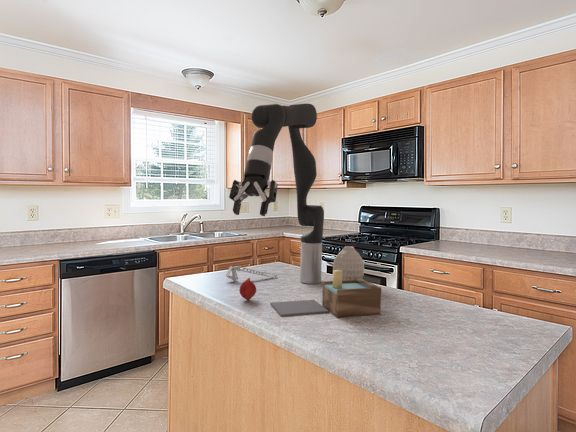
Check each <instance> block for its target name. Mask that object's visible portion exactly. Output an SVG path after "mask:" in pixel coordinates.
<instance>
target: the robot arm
mask: <svg viewBox="0 0 576 432" xmlns="http://www.w3.org/2000/svg"><path fill="white" fill-rule="evenodd" d="M317 115H318V114H317V109H316V107H315V105H313V104H311V103H296V104H290V105H281V104H278V103H273V104H261V105H257V106H255V107H254V108H253V110H251V115H250V116H251V117H250V118H251V122H252V125H254V126H255V127H256V128H259V129H258V130H256V131H254V133H253V136H252V138H251V144H250V149H249V151H248V154H247V158H246V163H245V167H244V172H243V178H242V179H243V180H242V181H238V180H236V179H235V180H233V182H232V185H231V189H230V192H229V196H228V198H229V199H230V200H232V201H233V202H234V203H233V207H232V212H233V214H234V215H236V216H239V215H240V211H241V208H242V202H243V201H244V200H245V199H247V198H249V197H261V199H262V201H261V203H260V209H259V215H260V216H262V217H265V216H266V215H268V210H269V205H270V203H276V201H277V193H278V187H279V185H278V183H277V182H276V181H275V179H274V180H273V179H272V180H270V174H271V169H272V164H273V155H274V149H275V145H276V140H277V138H278V136H279V134H280V132H281V130H282V129H283V128H286V127H288V133H289V138H290V143H291V153H292V164H293V171H294V172H293V174H294V181H295V189H296V208H297V209H296V210H297V212H296V213H297V221H298V224H299V225H300V226H302V227H313V229H312V231H310V232H307V233H305V234H302V235H301V236H300V265H299V266H300V268H299V271H300V272H299V282H300V283H303V284H311V285H313V284H314V285H315V284H320V283H322V268H323V267H322V264H323V263H322V262H323V261H322V260H323V238H324V237H323V235H324V223H325V222H324V221H325V211H324V207H323V206H322V205H313V204H308V202H307V199H308V194H309V192H310V190H311V188H312V186H313V185H314V182H316V179H317V161H316V158H315V156H314V155H313V153H312V151H311V150H310V149H309V148H308V146H307V145H306V143H305V141H304V140H303V138H302V135H301V132H300V131H301V130H300V129H309V128H313V127H314V126H315V125H316V123H317V119H318V116H317ZM269 180H270V181H269ZM268 188H269V194H267V193H266V189H268Z"/></svg>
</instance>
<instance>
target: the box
mask: <svg viewBox="0 0 576 432" xmlns="http://www.w3.org/2000/svg"><path fill="white" fill-rule="evenodd" d="M343 283H362V284H364V285H366V286H368V287H370V288H357V289H341V290H337V294H335V293H333V292H332V291H330V290H329V289H327V288H325V287H324V285H325V284H333V280H326V281H325V280H324V281H322V298H321V299H322V300H321V301H322V304H321V305H322V306H323V307H324V308H326V309H327V310H328V311H329V313H330V314H332V315H333V316H334V317H335V318H337V319H341V318H353V317H364V316H376V315H381V307H382V306H381V305H382V302H381V301H382V287H381V286H379V285H376V284H374V283H372V282H370V281H368V280H365V279H363V278H362V279H361V278H359V277H354V280H342V284H343Z"/></svg>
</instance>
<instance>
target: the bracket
mask: <svg viewBox="0 0 576 432" xmlns="http://www.w3.org/2000/svg"><path fill="white" fill-rule="evenodd" d="M241 268H242V269H241ZM237 272H244V273H249V274H253V275H254V274H255V275H258V276H261V277H262V276H264V277H267V278H272V279H276V278H277V276H278V274H276V273H270V272H267V271H259V270H256V269H251V268H247V267H243V266H241V265H235V266H234V265H233V266H231V265H230V266H229V267H228V269H227V272H226V273H225V277H226V278H228V279H230V280H232V281H233V282H237V281H238V280H239V277H238V276H239V275H238V273H237ZM230 274H231V275H230ZM268 274H269V275H268ZM270 275H273V276H270Z"/></svg>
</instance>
